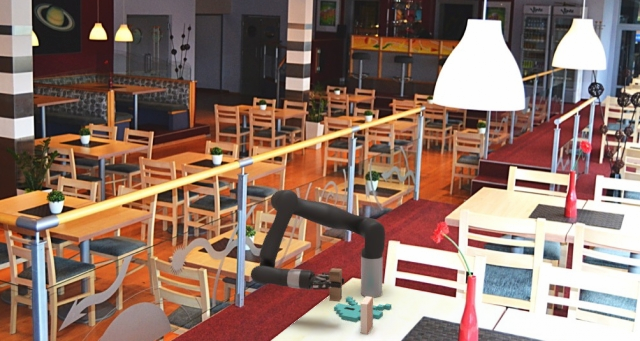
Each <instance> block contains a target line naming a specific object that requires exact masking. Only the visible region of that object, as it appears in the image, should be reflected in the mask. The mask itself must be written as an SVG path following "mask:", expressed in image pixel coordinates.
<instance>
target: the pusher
mask: <svg viewBox="0 0 640 341" xmlns="http://www.w3.org/2000/svg"><path fill="white" fill-rule="evenodd" d="M328 273H329V281H331V282H332V281H334V282H341V288H335V287H331V288H329V289H328V292H329V294H328V298H329V302H338V303H339V302H341V300H342V299H343V284H342V278H343V269H342V268H335V267H334V268H332V267H331V268H330V270H329V271H328Z"/></svg>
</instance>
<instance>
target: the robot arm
mask: <svg viewBox="0 0 640 341" xmlns="http://www.w3.org/2000/svg"><path fill="white" fill-rule="evenodd" d="M270 204H271V207H272V208H273V209H274V210H275V211H276V213H275V217H274V220H273V221H272V224H271V226H270V227H269V229H268V231H267V233H266V234H265V237H264V239H263V242H262V245H261V248H260V252H259V254H258V256H259V259H260V260H259V261H260V262H259V265H256V266H255V267H253V268H252V269H251V271H250V277H251V280H252V281H253V282H255V284H259V285H262V286H266V285H276V286H279V287H287V288H292V289H301V290H314V291H315V290H329V288H331V287H335V288H341V282H334V281H332V282H331V281H329V272H328V273H327V272H325V271H324V272H321V274H315V272H314V271H313V270H310V269H300V268H299V269H298V268H278V267H276V260H277V257H278V255H279V251H280V248H281V245H282V241H283V239H284V235H285V233H286V231H287V228H288V225H289V224H290V221H291V219H292V218H293V216H297V217H301V218H303V219H305V220H307V221H310V222H313V223H315V224H318V225H321V226H323V227H326V228H329V229H334V230H346V231H349V232H352V233H354V234H357V235H358V236H361V237H362V238H363V239H364V247H363V248H362V249H361V252H360V253H361V254H360V258H361V259H360V262H361V263H360V294H361V295H362V296H363V297H365V296H368V297H373V298H377V297H380V296H382V295H383V259H384V256H383V253H384V252H385V244H386V231H385V230H386V229H385V226H384V225H383V224H382V223H381V222H379V221H378V220H376V219H375V218H372V217H367V216H361V215H357V214H355V213H351V212H349V211H348V210H345V209H343V208H340V207H338V206H335V205H332V204H330V203H326V202H321V201H315V200H314V201H313V200H307V199H304V198H300V197H298V195H297V193H296V192H295V191H293V190H292V189H280V190H277V191H276V192H274V193H273V194H272V195H271V198H270ZM342 285H345V278H344V277H342Z"/></svg>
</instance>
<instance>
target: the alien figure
mask: <svg viewBox="0 0 640 341" xmlns="http://www.w3.org/2000/svg"><path fill="white" fill-rule="evenodd" d="M345 302H346V303H347V304H345V303H339V302H338V303H337V304H336V305H335V306H333V311H334V312H335V313H336V315H338V317H339V318H341V320H343V321H347V322H353V323H357V322H359V321H360V322H361V304H359V303H358V302H357V301H356V299H354V298H353V297H352V296H346V297H345ZM348 304H349V305H348ZM384 310H387V311H390V310H392V304H390V303H385V304H380V303H379V304H378V305H374V304H373V320H380V319H381V318H382V317H383V315H384Z"/></svg>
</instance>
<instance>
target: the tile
mask: <svg viewBox="0 0 640 341" xmlns="http://www.w3.org/2000/svg"><path fill="white" fill-rule="evenodd" d="M360 305H361V321H360V333H361V334H366V335H369V333H370V332H371V330H372V329H373V327H374V326H373V325H374V319H373V305H374V297H368V296H364V298H363V299H362V301H361V302H360Z"/></svg>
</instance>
